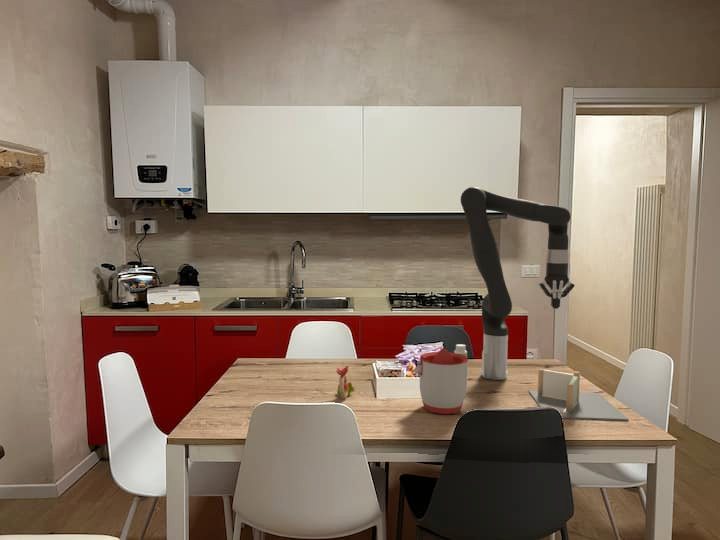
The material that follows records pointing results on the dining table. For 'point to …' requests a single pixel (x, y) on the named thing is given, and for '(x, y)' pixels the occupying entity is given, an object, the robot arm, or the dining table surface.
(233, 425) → the dining table surface
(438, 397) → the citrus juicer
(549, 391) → the panel
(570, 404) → the fence hinged section
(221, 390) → the dining table surface
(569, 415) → the board
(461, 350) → the supplement bottle
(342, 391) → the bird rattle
